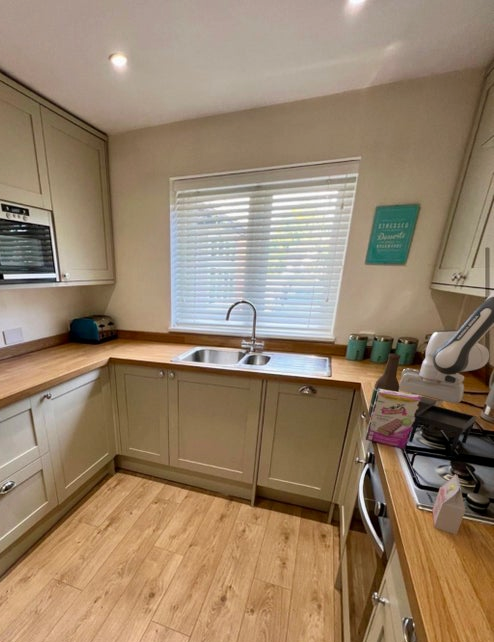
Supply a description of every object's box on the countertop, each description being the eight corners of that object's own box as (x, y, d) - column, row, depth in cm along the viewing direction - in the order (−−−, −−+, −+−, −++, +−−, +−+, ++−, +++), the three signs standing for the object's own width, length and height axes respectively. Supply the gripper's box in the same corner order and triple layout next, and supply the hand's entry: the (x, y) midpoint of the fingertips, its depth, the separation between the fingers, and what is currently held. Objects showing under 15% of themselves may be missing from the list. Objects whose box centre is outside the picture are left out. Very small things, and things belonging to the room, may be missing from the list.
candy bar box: (365, 440, 105) (376, 392, 99) (365, 434, 109) (377, 387, 103) (406, 450, 100) (421, 399, 94) (405, 443, 104) (420, 394, 98)
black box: (433, 411, 130) (436, 400, 128) (426, 416, 125) (429, 404, 123) (418, 408, 134) (422, 396, 132) (411, 412, 129) (414, 400, 127)
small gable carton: (452, 515, 72) (467, 476, 68) (456, 534, 67) (472, 493, 63) (432, 509, 74) (445, 471, 70) (433, 527, 68) (448, 486, 65)
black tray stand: (466, 442, 105) (476, 416, 102) (453, 456, 96) (463, 428, 93) (423, 429, 114) (431, 404, 111) (407, 441, 105) (414, 414, 102)
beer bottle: (393, 417, 124) (410, 354, 115) (388, 423, 118) (405, 357, 110) (370, 411, 128) (385, 350, 120) (364, 417, 123) (379, 354, 115)
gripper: (400, 368, 129) (391, 401, 134) (465, 380, 115) (452, 417, 119) (406, 365, 133) (397, 398, 138) (470, 377, 118) (457, 413, 123)
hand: (423, 407), depth 129 cm, fingers closed on black box, 5 cm apart
